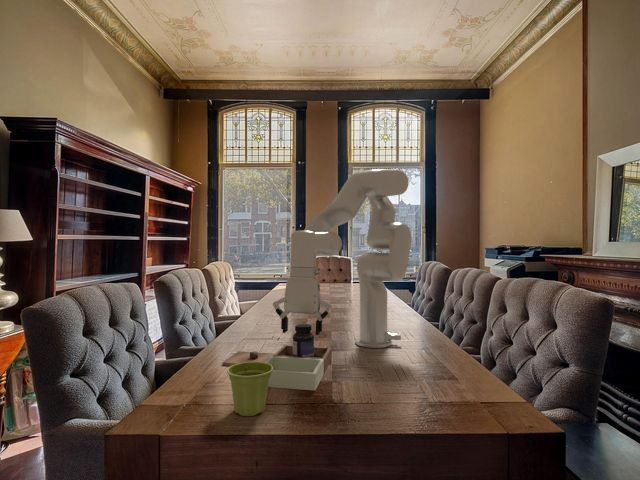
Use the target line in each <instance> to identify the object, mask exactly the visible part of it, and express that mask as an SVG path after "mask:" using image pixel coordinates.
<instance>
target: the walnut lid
mask: <svg viewBox="0 0 640 480" xmlns="http://www.w3.org/2000/svg"><path fill="white" fill-rule="evenodd" d="M276 353H277V352H274V353H273V352H260V351H259V352H258V351H254V350H253V351H242V350H241V351H240V350H239V351H236V352H235V353H234V354H232V355H231V356H230V357H228V358H226V360H223V362H222V363H221V365H222V366H224V367H225V366H226V367H230V366H232V365H235V364H239V363H244V362H263V363H265V362H266V361H267V360H268V359H269V358H270V357H271V356H273V355H275V354H276Z"/></svg>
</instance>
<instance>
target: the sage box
mask: <svg viewBox="0 0 640 480" xmlns="http://www.w3.org/2000/svg"><path fill="white" fill-rule="evenodd" d="M265 363H268V364H270V365H272V366H273V371H272V372H271V375H270V378H269V382H268V388H275V389H276V388H277V389H287V390H288V389H290V390H305V391H315V392H316V390H317V389H318V386H319V384H320V383H321V382H322V381H321V380H322V379H323V376H324V375H325V372H324V359H311V358H293V357H276V356H271V357H270V358H269V359H268V360H267V361H266V362H265Z"/></svg>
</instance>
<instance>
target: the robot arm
mask: <svg viewBox="0 0 640 480" xmlns="http://www.w3.org/2000/svg"><path fill="white" fill-rule="evenodd" d="M409 184H410V183H409V178H408V175H407V174H406V173H405V172H404V171H403V170H401V169H385V168H384V169H381V168H380V169H379V168H377V169H376V168H375V169H370V170H363V171H358V172H354V173H352V174H351V175H350V176H349V177H348V178H347V180H346V182H345V183H343V186H342V187H341V189H340V190H339V192H338V194H337V195H336V197H335V199H334V200H333V201H332V202H331V203H330V204H329V205H327V206H326V207H325V208H324V209H322V210H321V211H320V212H319V213H317V214H316V215H315V216H314V217H313V218H312V219H311V220H310V221H309V222H308V224H306V227H305V228H304V230H294V231H292V233H291V236H290V257H289V258H290V261H289V262H290V264H289V277H287V280H286V285H285V288H284V290H285V291H284V297H281V298H280V299H278V300H275V301H274V302H272V306H273V308H274V310H275V313H276V314H277V316H278V317H279V318H280V320H281V321H280V323H281V325H280V328H281V330H282V333H283V334H286V333H287V332H288V331H289V317H288V315H289V314H290V313H291V314H292V313H293V314H304V315H305V314H308V315H309V314H310V315H314V317H315V318H316V320H315V335H316V336H320V334H321V333H322V332H323V320H324V318H326V317H327V316H328V315H329V313H330V311H331V310H332V308H333V305H332V304H331V303H329V302H327V300H324V299H322V298H321V287H320V286H321V284H320V279H319V278H318V277H317V276H319V275H322V270H321V269H318V268H317V257H333V256H336V255H337V254H339V253H340V252H341V250H342V246H343V241H342V238H341V237H340V236H339V234H337V233H335V232H333V231H332V229H333V230H334V229H335V228H337V227H338V226H342V225H344V224H346V223H348V222H350V221H351V220H353V219H354V218H356V216H357V214H358V213H359V210H360V209H361V207H362V205H363V204H364V202H365V200H366V199H368V201H369V203H370V207H371V208H370V209H371V215H370V220H369V225H368V231H367V236H366V243H367V246H368V247H369V248H370V249H372V250H375V251H376V250H377V251H389V252H366V253H364V254H362V255H360V256H359V258H358V259H357V263H356V271H357V277H358V282H359V336H358V337H357V338H356V339H355V341H354V342H355V344H356V345H358V346H359V347H363V348H368V349H380V348H382V349H384V348H387V347H388V348H389V347H391V346H392V345H393V341H402V340H401V339H402V337H401V334H398V333H391V332H389V329H388V290H387V287H386V286H385V282H394V283H395V282H396V283H397V282H400V281H401V280H403V278H404V277H405V275H406V273H407V270H408V269H407V267H408V263H409V257H410V252H411V247H412V231H411V229H410V227H409V226H408V225H407V224H405V223H404V222H400V221H399V222H397V221H396V222H395V219H396V208H395V206H394V205H393V203H392V201H391V200H390V199H389V197H395V196H400V195H403V194H405V193H406V192H407V190H408V188H409ZM281 304H283V309H284V310H282V308H281V306H280V305H281ZM321 306H322V307H324V308H325V310H324V312H321Z"/></svg>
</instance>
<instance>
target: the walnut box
mask: <svg viewBox="0 0 640 480" xmlns="http://www.w3.org/2000/svg"><path fill="white" fill-rule="evenodd" d="M275 353H276V354H275V355H273V356H276V357H293V358H311V359H324V373H325V372H326V371H327V368H328V366H329V365H330V363H331V361H332V347H331V346H330V347H327V346H314V357H297V356H293V344H292V345H290V344H284V345H283V346H282V347H281V348H280V349H279V350H278V351H277V352H275Z"/></svg>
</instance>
